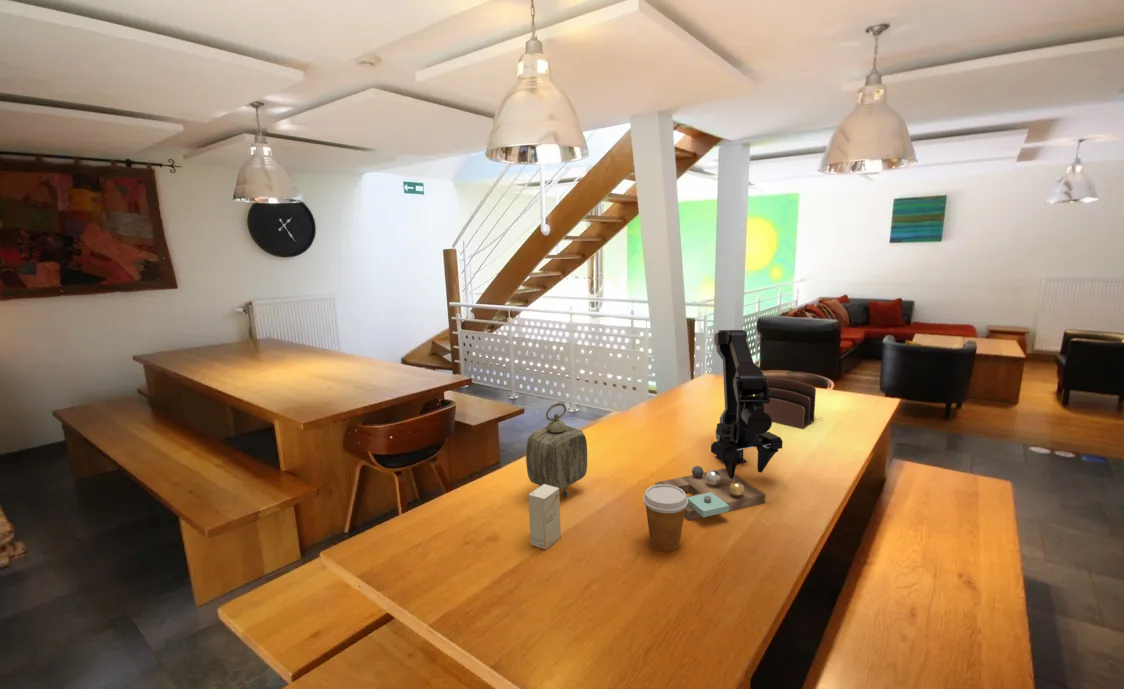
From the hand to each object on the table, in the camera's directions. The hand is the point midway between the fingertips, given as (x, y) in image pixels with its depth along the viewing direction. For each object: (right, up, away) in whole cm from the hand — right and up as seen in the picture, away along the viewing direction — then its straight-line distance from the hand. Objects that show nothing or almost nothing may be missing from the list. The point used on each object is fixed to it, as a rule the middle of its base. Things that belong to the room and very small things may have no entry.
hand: (745, 475), depth 140 cm
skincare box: (-52, -10, -21) cm, 57 cm away
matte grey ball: (-12, +1, +1) cm, 12 cm away
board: (-11, -5, -4) cm, 13 cm away
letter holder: (+30, +8, +49) cm, 58 cm away
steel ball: (-10, 0, -4) cm, 10 cm away
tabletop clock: (-49, -5, -1) cm, 50 cm away
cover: (-14, -4, -14) cm, 20 cm away
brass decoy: (-5, -1, -9) cm, 11 cm away
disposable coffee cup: (-26, -9, -24) cm, 37 cm away
